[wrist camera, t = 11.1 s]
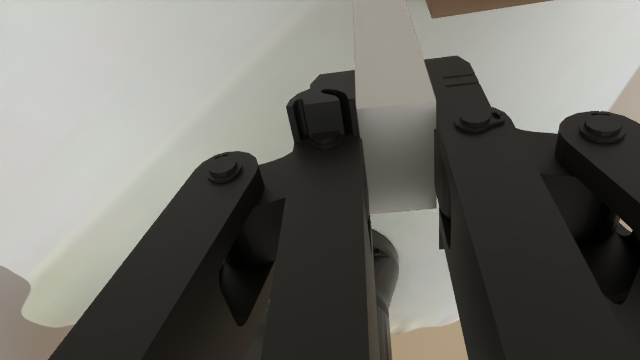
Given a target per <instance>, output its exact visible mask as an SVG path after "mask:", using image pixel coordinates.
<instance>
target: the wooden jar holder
mask: <svg viewBox="0 0 640 360" xmlns="http://www.w3.org/2000/svg"><path fill="white" fill-rule="evenodd" d="M545 1H551V0H426V3H427V6H428V9H429V12H430V15H431V18H439V17H446V16H452V15H459V14H465V13H472V12H479V11H485V10H492V9H498V8H505V7H512V6H518V5H525V4H532V3H538V2H545Z"/></svg>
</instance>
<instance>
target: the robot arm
mask: <svg viewBox="0 0 640 360" xmlns="http://www.w3.org/2000/svg"><path fill="white" fill-rule="evenodd" d="M353 21H354V57H355V70H351V71H344V72H336V73H328V74H320V75H319V76H318V77H317V78H316V79H315V80H314V81H313V82H312V83H311V85H310V89H308V90H306V91H304V92H301V93H299V94H297V95H296V96H295V97H293V98H292V99H291V100H290V101H289V102H288V104H287V106H286V109H287V113H288V117H289V122H290V126H291V130H292V135H293V139H294V148H293V151H292V152H291V153H290V154H288V155H286V156H284V157H282V158H280V159H277V160H274V161H271V162H268V163H265V164H261V165H258V162H257V160H256V158H255V157H254V156H252V155H251V154H249V153H245V152H240V151H235V152H225V153H222V154H218V155H215V156H213V157H212V158H210V159H208V160H206V161H204V162H203V163H202V164H201V165H200V166H199V167H197V168H196V169H195V171H194V172H193V173H192V174H191V176H190V177H189V178H188V180H187V181H186V182H185V183H184V185H183V186H182V187H181V189H180V190H179V191H178V192H177V194H176V195H175V196H174V198H173V199H172V200H171V202H170V203H169V204H168V205H167V207H166V208H165V209H164V211H163V212H162V213H161V214H160V216H159V217H158V218H157V220H156V221H155V222H154V223H153V225H152V226H151V227H150V229H149V230H148V231H147V232H146V234H145V235H144V236H143V238H142V239H141V240H140V242H139V243H138V244H137V245H136V247H135V248H134V249H133V251H132V252H131V253H130V254H129V256H128V257H127V258H126V260H125V261H124V262H123V263H122V265H121V266H120V267H119V269H118V270H117V271H116V272H115V274H114V275H113V276H112V278H111V279H110V280H109V282H108V283H107V284H106V285H105V287H104V288H103V289H102V291H101V292H100V293H99V294H98V296H97V297H96V298H95V300H94V301H93V302H92V303H91V305H90V306H89V307H88V309H87V310H86V311H85V312H84V314H83V315H82V316H81V318H80V319H79V320H78V322H77V323H76V324H75V325H74V327H73V328H72V329H71V331H70V332H69V333H68V334H67V336H66V337H65V338H64V340H63V341H62V342H61V344H60V345H59V346H58V347H57V349H56V350H55V351H54V353H53V354H52V355H51V356H50V358H49V359H48V360H392V352H391V339H390V326H389V313H388V309H389V305H390V302H391V299H392V296H393V292H394V289H395V286H396V283H397V280H398V274H399V267H398V257H397V253H396V250H395V248H394V247H393V245H392V244H391V243H390V242H389V241H388V240H387V239H386V238H385V237H384V236H382V235H381V234H379V233H377V232H376V231H373V230H372V229H371V221H370V214H373V213H385V212H397V211H409V210H421V209H433V208H436V194H437V199H438V203H439V249H445V254H446V258H447V263H448V267H449V272H450V276H451V281H452V286H453V290H454V295H455V299H456V304H457V309H458V313H459V318H460V322H461V327H462V332H463V336H464V340H465V345H466V350H467V354H468V359H469V360H640V124H639V123H637V122H635V121H633V120H631V119H629V118H627V117H625V116H622V115H618V114H613V113H610V112H604V111H601V112H599V111H590V112H583V113H577V114H574V115H571V116H569V117H566V118H565V119H564V120H563V121H562V122H561V123H560V125H559V131H558V134H554V133H541V132H531V131H524V130H520V129H517V128H515V126H514V124H513V122H512V120H511V119H510V118H509V117H508V115H507V114H506V113H505V112H503V111H500V110H498V109H496V108H493V107H491V106H490V104H489V102H488V100H487V98H486V96H485V94H484V92H483V89H482V87H481V85H480V84H479V81H478V79H477V77H476V75H475V73H474V71H473V69H472V67H471V65H470V63H468V62H467V61H465V60H463V59H462V58H460V57H459V56H450V57H442V58H434V59H426V60H424V59H423V56H422V53H421V49H420V46H419V43H418V40H417V36H416V33H415V30H414V27H413V23H412V20H411V17H410V14H409V10H408V7H407V4H406V1H405V0H353ZM620 218H621V219H622V220H623V221H624V222H625V223H626V224H627V225H628V226H629V227H630V228H631V229H632V230H633V231H632V232H630V231H629V230H627V229H626V228H625V227H623V226H622V225H621V224H620V223H619V220H620ZM269 300H270V302H269Z"/></svg>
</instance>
